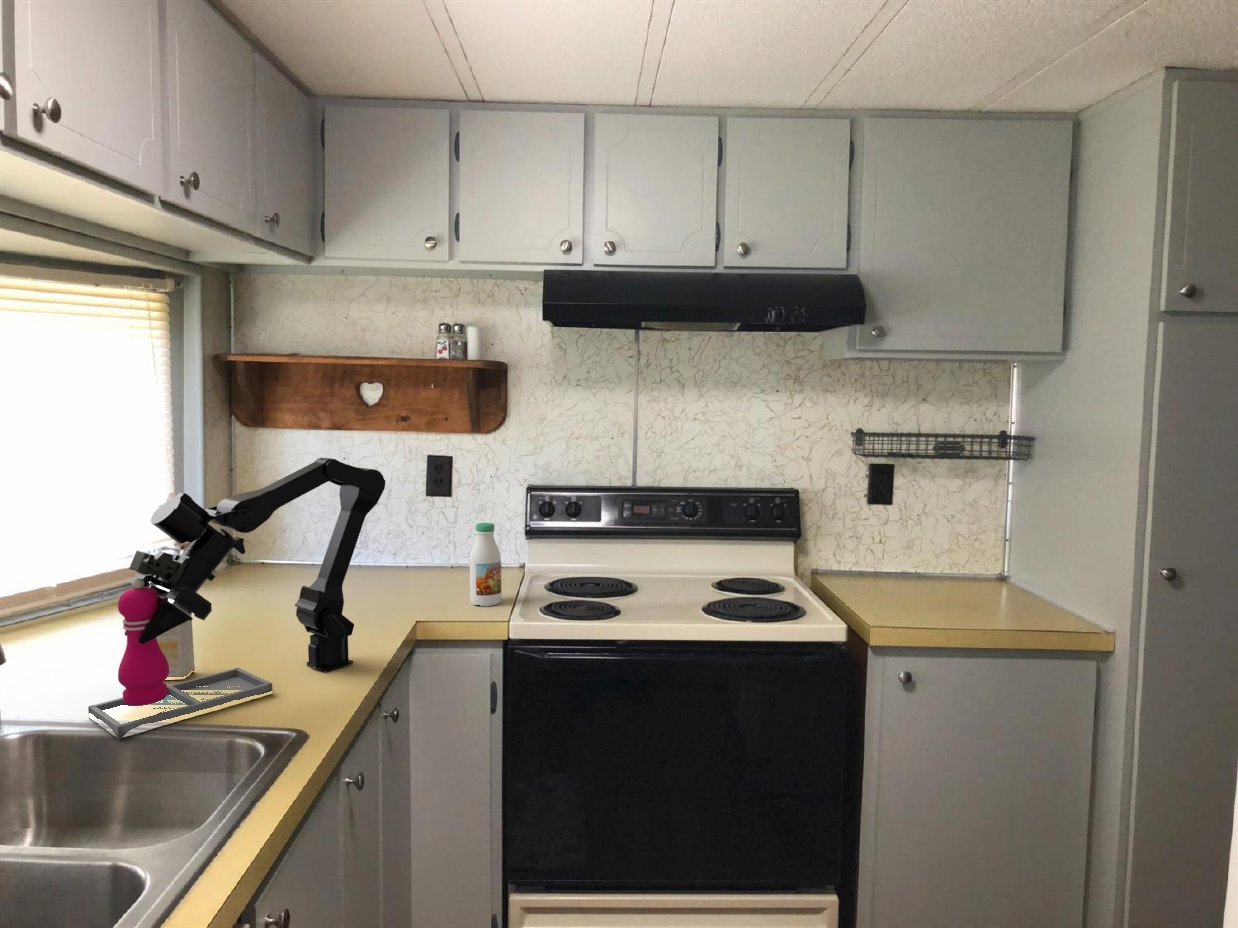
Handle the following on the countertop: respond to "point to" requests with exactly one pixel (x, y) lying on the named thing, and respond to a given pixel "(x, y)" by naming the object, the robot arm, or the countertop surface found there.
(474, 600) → the milk bottle
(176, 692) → the sorting tray
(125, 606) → the pepper mill
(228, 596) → the countertop surface
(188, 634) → the supplement box
